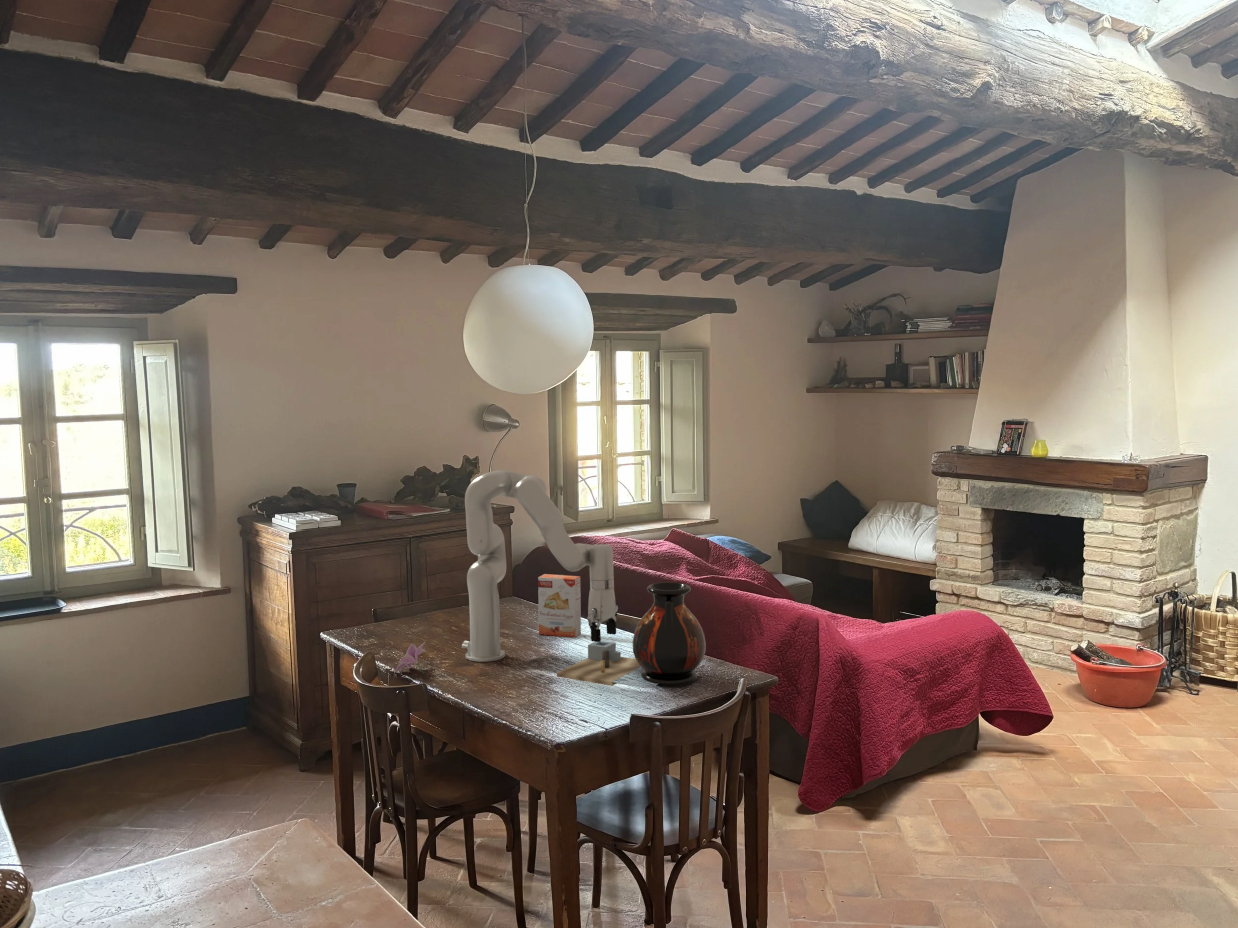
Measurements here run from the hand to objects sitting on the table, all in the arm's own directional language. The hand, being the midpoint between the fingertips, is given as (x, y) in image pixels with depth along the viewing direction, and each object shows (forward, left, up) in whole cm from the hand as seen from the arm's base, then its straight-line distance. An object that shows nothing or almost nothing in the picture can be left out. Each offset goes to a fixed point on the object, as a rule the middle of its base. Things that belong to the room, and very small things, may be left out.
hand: (603, 637), depth 293 cm
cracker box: (-31, +22, -8) cm, 38 cm away
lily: (-47, -37, -8) cm, 60 cm away
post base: (+5, -8, -8) cm, 13 cm away
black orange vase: (+26, -7, -8) cm, 29 cm away
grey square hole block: (+1, 0, -7) cm, 7 cm away
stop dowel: (+7, -13, -7) cm, 17 cm away
